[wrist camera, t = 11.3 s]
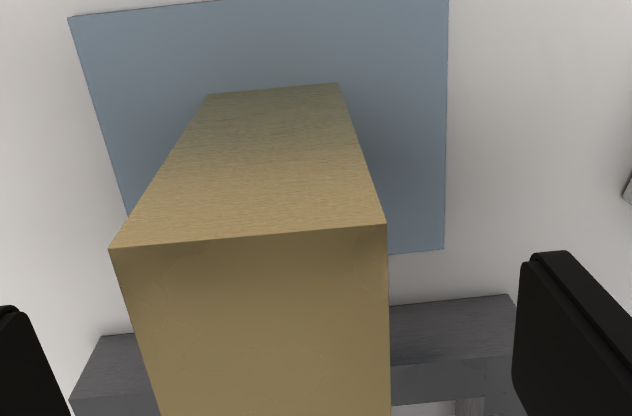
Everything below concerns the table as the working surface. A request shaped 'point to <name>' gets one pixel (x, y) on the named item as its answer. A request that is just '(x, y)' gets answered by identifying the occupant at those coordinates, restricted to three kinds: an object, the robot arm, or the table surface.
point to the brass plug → (261, 263)
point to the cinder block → (405, 362)
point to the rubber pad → (281, 71)
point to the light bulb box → (628, 193)
